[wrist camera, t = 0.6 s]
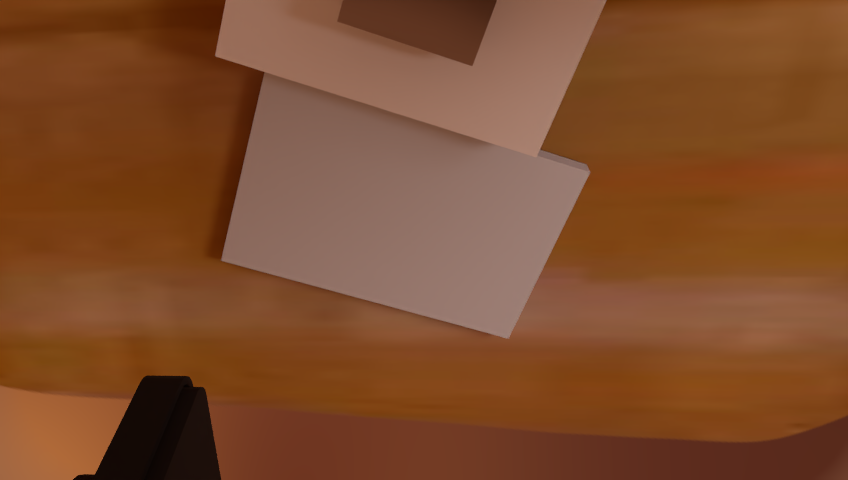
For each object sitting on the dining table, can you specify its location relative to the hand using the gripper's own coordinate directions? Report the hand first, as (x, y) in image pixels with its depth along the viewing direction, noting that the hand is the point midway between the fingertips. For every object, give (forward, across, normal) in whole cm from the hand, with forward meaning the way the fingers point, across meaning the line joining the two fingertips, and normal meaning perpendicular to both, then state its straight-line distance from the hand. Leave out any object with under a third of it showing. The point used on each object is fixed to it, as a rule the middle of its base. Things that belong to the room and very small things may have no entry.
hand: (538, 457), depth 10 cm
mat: (+30, +3, +12) cm, 33 cm away
